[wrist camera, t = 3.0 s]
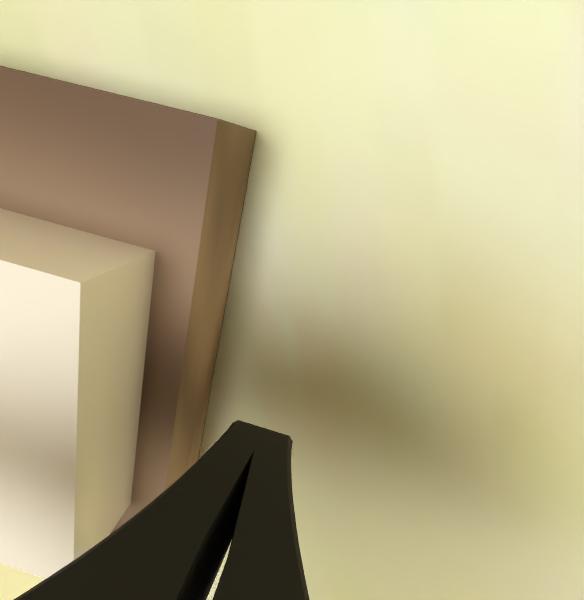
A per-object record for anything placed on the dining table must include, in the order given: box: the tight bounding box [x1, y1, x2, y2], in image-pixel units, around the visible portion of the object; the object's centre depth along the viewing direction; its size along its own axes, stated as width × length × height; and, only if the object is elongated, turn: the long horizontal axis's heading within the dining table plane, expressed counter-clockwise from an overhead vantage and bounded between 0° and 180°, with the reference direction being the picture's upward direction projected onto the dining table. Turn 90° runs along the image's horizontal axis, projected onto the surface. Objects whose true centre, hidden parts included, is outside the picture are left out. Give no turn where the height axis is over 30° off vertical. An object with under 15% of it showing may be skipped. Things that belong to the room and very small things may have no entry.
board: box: [0, 66, 256, 534], centre depth 12 cm, size 14×10×3 cm
